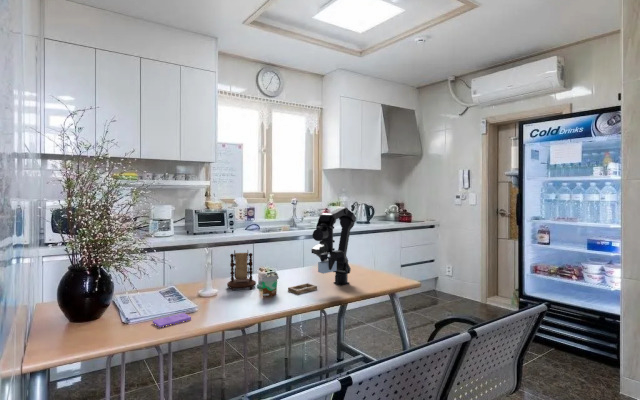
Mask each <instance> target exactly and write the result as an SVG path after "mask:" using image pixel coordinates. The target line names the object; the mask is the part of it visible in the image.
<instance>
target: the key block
mask: <svg viewBox="0 0 640 400" xmlns="http://www.w3.org/2000/svg"><path fill="white" fill-rule="evenodd" d="M333 271H337V261H335V263H334V265H333V267H332V269H331V270H329V260H328V259H327V260H324V261H323V262H321V261H318V262H317V272H318V273H320V274H328V273H334V272H333Z"/></svg>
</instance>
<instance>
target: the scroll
mask: <svg viewBox="0 0 640 400" xmlns="http://www.w3.org/2000/svg"><path fill="white" fill-rule="evenodd" d="M253 255H254V254H253V253H252V252H249V249H247V252H236V250H235V249H234V251H233V253H231V254H230V281H228V282H227V283H226V284H227V287H228V288H230V290H231V291H234V289H236V290H237V289H238V290H240V289H243V290H244V289H249V290H252V289H253V287H255V286H256V284H257V282H256V281H255V280H254V279H253V259H252V258H253ZM234 266H235V267H234Z"/></svg>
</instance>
